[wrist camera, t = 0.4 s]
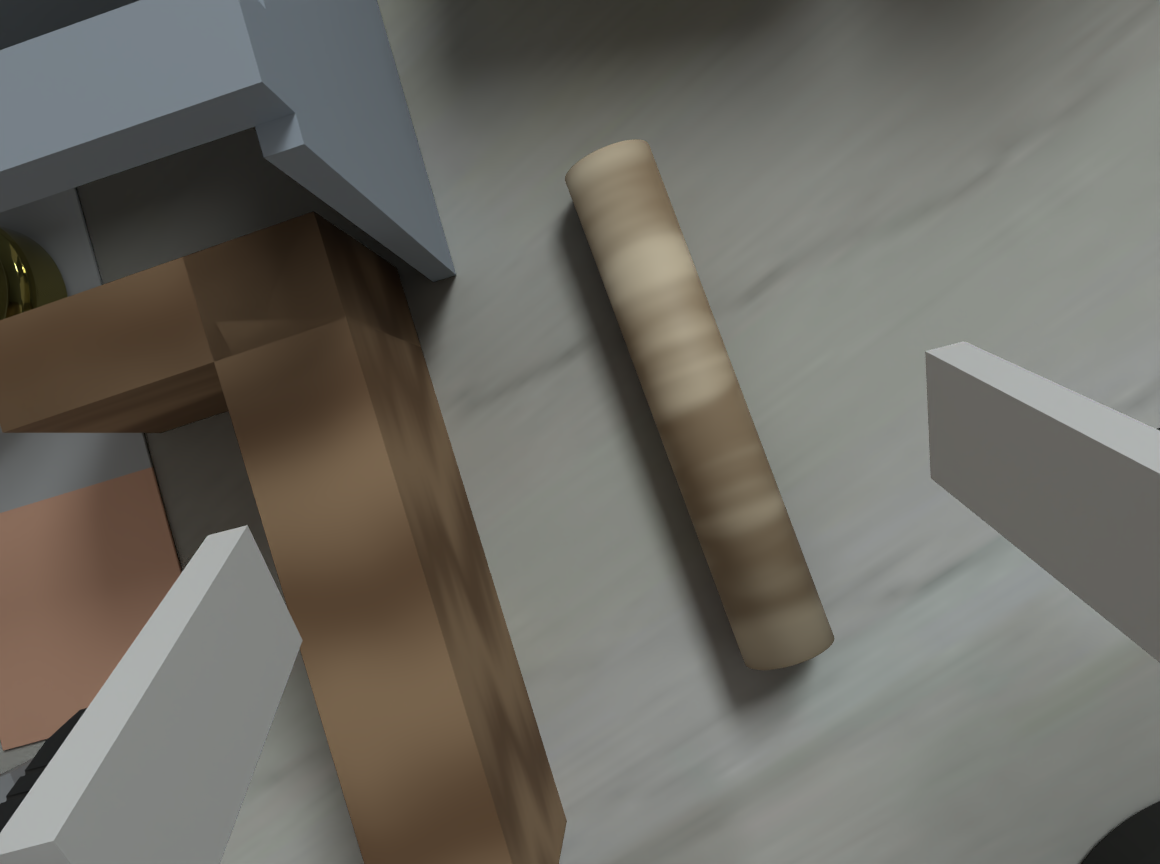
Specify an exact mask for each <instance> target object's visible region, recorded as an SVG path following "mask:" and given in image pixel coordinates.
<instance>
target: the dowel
mask: <svg viewBox="0 0 1160 864" xmlns="http://www.w3.org/2000/svg"><path fill="white" fill-rule="evenodd" d="M565 181H566V184H567V187H568V189H569V192H570V195H571V197H572V200H573V203H574V205H575V208H576V211H577V214H578V216H579V219H580V222H581V224H582V227H583V230H584V232H585V235H586V238H587V240H588V243H589V246H590V249H591V251H592V254H593V257H594V259H595V262H596V265H597V267H598V270H599V273H600V275H601V278H602V281H603V283H604V286H605V289H606V292H607V294H608V297H609V300H610V302H611V305H612V308H613V310H614V313H615V316H616V318H617V321H618V324H619V327H620V329H621V332H622V335H623V337H624V340H625V343H626V345H627V348H628V351H629V353H630V356H631V359H632V361H633V364H634V367H635V370H636V372H637V375H638V378H639V380H640V383H641V386H642V388H643V391H644V394H645V396H646V399H647V402H648V404H649V407H650V410H651V413H652V415H653V418H654V421H655V423H656V426H657V429H658V431H659V434H660V437H661V439H662V442H663V445H664V448H665V450H666V453H667V456H668V458H669V461H670V464H671V466H672V469H673V472H674V474H675V477H676V480H677V482H678V485H679V488H680V491H681V493H682V496H683V499H684V501H685V504H686V507H687V509H688V512H689V515H690V517H691V520H692V523H693V525H694V528H695V531H696V534H697V536H698V539H699V542H700V544H701V547H702V550H703V552H704V555H705V558H706V560H707V563H708V566H709V569H710V571H711V574H712V577H713V579H714V582H715V585H716V587H717V590H718V593H719V595H720V598H721V601H722V603H723V606H724V609H725V612H726V614H727V617H728V620H729V622H730V625H731V628H732V630H733V633H734V636H735V638H736V641H737V644H738V646H739V649H740V652H741V655H742V657H743V660H744V663H745V665H746V666H747V667H749V668H751V669H755V670H773V669H779V668H784V667H789V666H792V665H796V664H799V663H802V662H804V661H807V660H809V659H811V658H813V657H815V656H817V655H819V654H821V653H822V652H824V651H825V650H826V649H828V648H829V647H830V646H831V645H832V643H833V641H834V635H833V633H832V630H831V627H830V625H829V622H828V619H827V617H826V614H825V611H824V609H823V606H822V604H821V601H820V598H819V596H818V593H817V590H816V588H815V585H814V582H813V580H812V577H811V574H810V572H809V569H808V566H807V564H806V561H805V558H804V556H803V553H802V550H801V548H800V545H799V542H798V540H797V537H796V534H795V532H794V529H793V526H792V524H791V521H790V518H789V516H788V513H787V510H786V508H785V505H784V502H783V500H782V497H781V495H780V492H779V489H778V487H777V484H776V481H775V479H774V476H773V473H772V471H771V468H770V465H769V463H768V460H767V457H766V455H765V452H764V449H763V447H762V444H761V441H760V439H759V436H758V433H757V431H756V428H755V425H754V423H753V420H752V417H751V415H750V412H749V409H748V407H747V404H746V401H745V399H744V396H743V393H742V391H741V388H740V386H739V383H738V380H737V378H736V375H735V372H734V370H733V367H732V364H731V362H730V359H729V356H728V354H727V351H726V348H725V346H724V343H723V340H722V338H721V335H720V332H719V330H718V327H717V324H716V322H715V319H714V316H713V314H712V311H711V308H710V306H709V303H708V300H707V298H706V295H705V292H704V290H703V287H702V284H701V282H700V279H699V277H698V274H697V271H696V269H695V266H694V263H693V261H692V258H691V255H690V253H689V250H688V247H687V245H686V242H685V239H684V237H683V234H682V231H681V229H680V226H679V223H678V221H677V218H676V215H675V213H674V210H673V207H672V205H671V202H670V199H669V197H668V194H667V191H666V189H665V186H664V183H663V181H662V178H661V175H660V173H659V170H658V168H657V165H656V162H655V160H654V157H653V154H652V152H651V149H650V146H649V144H648V143H647V142H646V141H643V140H626V141H621V142H617V143H614V144H611V145H608V146H606V147H603V148H601V149H599V150H596V151H594V152H593V153H591V154H589V155H587V156H586V157H584V158H583V159H581V160H580V161H578V162H577V163H576V164H575V165H573V166H572V167H571V169H570V170H569V171H568V172H567V174H566V176H565Z"/></svg>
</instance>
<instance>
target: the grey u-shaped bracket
mask: <svg viewBox="0 0 1160 864" xmlns="http://www.w3.org/2000/svg"><path fill="white" fill-rule="evenodd" d="M252 127H255V128H256V132H257V135H258V139H259V143H260V146H261V150H262V153H263V157H264V158H265V159H266V160H268V161H269V162H270V163H272V164H273V165H275V166H276V167H277V168H279V169H280V170H281V171H283V172H284V173H285V174H287V175H288V176H290V177H291V178H292V179H294V180H295V181H296V182H298V183H299V184H300V185H302V186H303V187H305V188H306V189H307V190H309V191H310V192H311V193H313V194H314V195H315V196H317V197H318V198H320V199H321V200H322V201H324V202H325V203H326V204H328V205H329V206H330V207H332V208H333V209H335V210H336V211H337V212H339V213H340V214H341V215H343V216H344V217H345V218H347V219H348V220H350V221H351V222H352V223H354V224H355V225H356V226H358V227H359V228H360V229H362V230H363V231H365V232H366V233H367V234H369V235H370V236H371V237H373V238H374V239H375V240H377V241H378V242H380V243H381V244H382V245H384V246H385V247H386V248H388V249H389V250H390V251H392V252H393V253H395V254H396V255H397V256H399V257H400V258H401V259H403V260H404V261H405V262H407V263H408V264H410V265H411V266H412V267H414V268H415V269H416V270H418V271H419V272H420V273H422V274H423V275H425V276H426V277H427V278H429V279H430V280H431V281H433V282H435V281H438V280H442V279H445V278H448V277H451V276H454V275H456V273H455V269H454V266H453V262H452V259H451V256H450V252H449V249H448V245H447V242H446V238H445V235H444V231H443V228H442V224H441V221H440V217H439V214H438V210H437V207H436V204H435V200H434V197H433V193H432V190H431V186H430V183H429V179H428V176H427V172H426V169H425V165H424V162H423V158H422V155H421V152H420V148H419V145H418V141H417V138H416V134H415V131H414V127H413V124H412V120H411V117H410V113H409V110H408V107H407V103H406V100H405V96H404V93H403V89H402V86H401V82H400V79H399V75H398V72H397V68H396V65H395V61H394V58H393V55H392V51H391V48H390V44H389V41H388V37H387V34H386V30H385V27H384V23H383V20H382V16H381V13H380V9H379V6H378V3H377V0H0V213H1V212H4V211H7V210H10V209H13V208H16V207H19V206H22V205H24V204H27V203H30V202H33V201H36V200H39V199H42V198H45V197H48V196H51V195H54V194H57V193H60V192H63V191H66V190H69V189H72V188H75V187H78V186H81V185H84V184H87V183H89V182H92V181H95V180H98V179H101V178H104V177H107V176H110V175H113V174H116V173H119V172H122V171H125V170H128V169H131V168H134V167H137V166H140V165H143V164H146V163H149V162H152V161H155V160H157V159H160V158H163V157H166V156H169V155H172V154H175V153H178V152H181V151H184V150H187V149H190V148H193V147H196V146H199V145H202V144H205V143H208V142H211V141H214V140H217V139H220V138H222V137H225V136H228V135H231V134H234V133H237V132H240V131H243V130H246V129H249V128H252Z"/></svg>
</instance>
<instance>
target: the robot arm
mask: <svg viewBox="0 0 1160 864" xmlns="http://www.w3.org/2000/svg"><path fill="white" fill-rule="evenodd" d="M925 354H926V377H927V401H928V424H929V447H930V471H931V479H933V480H934V481H935V482H936V483H938V484H939V485H940V486H941V487H943V488H944V489H945V490H946V491H948V492H949V493H950V494H951V495H953V496H954V497H955V498H956V499H958V500H959V501H960V502H961V503H962V504H964V505H965V506H966V507H967V508H969V509H970V510H971V511H972V512H974V513H975V514H976V515H977V516H979V517H980V518H981V519H982V520H984V521H985V522H986V523H987V524H989V525H990V526H991V527H992V528H994V529H995V530H996V531H997V532H998V533H1000V534H1001V535H1002V536H1003V537H1005V538H1006V539H1007V540H1008V541H1010V542H1011V543H1012V544H1013V545H1015V546H1016V547H1017V548H1018V549H1020V550H1021V551H1022V552H1023V553H1025V554H1026V555H1027V556H1028V557H1029V558H1031V559H1032V560H1033V561H1034V562H1036V563H1037V564H1038V565H1039V566H1041V567H1042V568H1043V569H1044V570H1046V571H1047V572H1048V573H1049V574H1051V575H1052V576H1053V577H1054V578H1056V579H1057V580H1058V581H1059V582H1061V583H1062V584H1063V585H1064V586H1065V587H1067V588H1068V589H1069V590H1070V591H1072V592H1073V593H1074V594H1075V595H1077V596H1078V597H1079V598H1080V599H1082V600H1083V601H1084V602H1085V603H1087V604H1088V605H1089V606H1090V607H1092V608H1093V609H1094V610H1095V611H1096V612H1098V613H1099V614H1100V615H1101V616H1103V617H1104V618H1105V619H1106V620H1108V621H1109V622H1110V623H1111V624H1113V625H1114V626H1115V627H1116V628H1118V629H1119V630H1120V631H1121V632H1123V633H1124V634H1125V635H1126V636H1128V637H1129V638H1130V639H1131V640H1132V641H1134V642H1135V643H1136V644H1137V645H1139V646H1140V647H1141V648H1142V649H1144V650H1145V651H1146V652H1147V653H1149V654H1150V655H1151V656H1152V657H1154V658H1155V659H1156V660H1157V661H1159V662H1160V428H1158V429H1155V428H1153V427H1151V426H1149V425H1146V424H1144V423H1142V422H1140V421H1138V420H1136V419H1133V418H1131V417H1129V416H1127V415H1125V414H1122V413H1120V412H1118V411H1116V410H1114V409H1112V408H1109V407H1107V406H1105V405H1103V404H1101V403H1098V402H1096V401H1094V400H1092V399H1090V398H1087V397H1085V396H1083V395H1081V394H1079V393H1077V392H1074V391H1072V390H1070V389H1068V388H1066V387H1063V386H1061V385H1059V384H1057V383H1055V382H1053V381H1050V380H1048V379H1046V378H1044V377H1042V376H1039V375H1037V374H1035V373H1033V372H1031V371H1029V370H1026V369H1024V368H1022V367H1020V366H1018V365H1015V364H1013V363H1011V362H1009V361H1007V360H1005V359H1002V358H1000V357H998V356H996V355H994V354H991V353H989V352H987V351H985V350H983V349H980V348H978V347H976V346H974V345H972V344H970V343H967V342H965V341H963V342H959V343H956V344H952V345H948V346H944V347H940V348H936V349H932V350H928V351H925ZM302 641H303V640H302V638H301V636H300V634H299V632H298V630H297V628H296V625H295V623H294V621H293V619H292V617H291V615H290V613H289V611H288V609H287V607H286V605H285V602H284V600H283V598H282V596H281V594H280V592H279V590H278V588H277V586H276V584H275V581H274V579H273V577H272V575H271V573H270V571H269V569H268V567H267V565H266V563H265V561H264V558H263V556H262V554H261V552H260V550H259V548H258V546H257V544H256V542H255V540H254V537H253V535H252V533H251V531H250V529H249V527H248V525H246V526H242V527H238V528H235V529H231V530H227V531H223V532H219V533H215V534H211V535H208V536H207V537H206V538H205V540H204V541H203V543H202V544H201V546H200V547H199V549H198V550H197V551H196V553H195V554H194V556H193V557H192V559H191V560H190V561H189V563H188V564H187V566H186V567H185V569H184V570H183V571H182V573H181V574H180V576H179V577H178V579H177V580H176V582H175V583H174V584H173V586H172V587H171V589H170V590H169V592H168V593H167V594H166V596H165V597H164V599H163V600H162V602H161V603H160V604H159V606H158V607H157V609H156V610H155V612H154V613H153V615H152V616H151V617H150V619H149V620H148V622H147V623H146V625H145V626H144V627H143V629H142V630H141V632H140V633H139V635H138V636H137V637H136V639H135V640H134V642H133V643H132V645H131V646H130V647H129V649H128V650H127V652H126V653H125V655H124V656H123V658H122V659H121V660H120V662H119V663H118V665H117V666H116V668H115V669H114V670H113V672H112V673H111V675H110V676H109V678H108V679H107V680H106V682H105V683H104V685H103V686H102V688H101V689H100V691H99V692H98V693H97V695H96V696H95V698H94V699H93V701H92V702H91V703H90V705H89V706H88V708H85V709H81V710H79V711H78V712H77V713H76V714H75V715H73V716H72V717H71V718H70V719H69V720H68V721H67V722H66V723H65V724H64V725H63V726H61V727H60V728H59V729H58V730H57V731H56V732H55V733H54V734H53V735H52V736H51V737H49V738H48V739H47V740H46V742H45V743H44V745H43V746H42V747H41V749H40V750H39V751H38V753H37V754H36V756H35V757H34V758H33V760H32V761H31V762H30V764H29V765H28V767H27V768H26V769H25V776H21V777H20V778H19V779H18V780H17V782H16V783H15V784H14V786H13V787H12V789H11V790H10V791H9V793H8V794H7V795H6V798H7V800H6V802H3V803H1V804H0V864H220V862H221V859H222V856H223V854H224V851H225V848H226V846H227V843H228V840H229V838H230V835H231V832H232V829H233V827H234V824H235V821H236V819H237V816H238V813H239V811H240V808H241V805H242V803H243V800H244V797H245V794H246V792H247V789H248V786H249V784H250V781H251V778H252V776H253V773H254V770H255V767H256V765H257V762H258V759H259V757H260V754H261V751H262V749H263V746H264V743H265V740H266V738H267V735H268V732H269V730H270V727H271V724H272V722H273V719H274V716H275V713H276V711H277V708H278V705H279V703H280V700H281V697H282V695H283V692H284V689H285V686H286V684H287V681H288V678H289V676H290V673H291V670H292V668H293V665H294V662H295V660H296V657H297V654H298V651H299V649H300V646H301V643H302ZM1082 864H1160V802H1157V803H1155V804H1153V805H1151V806H1149V807H1147V808H1146V809H1144V810H1142V811H1140V812H1138V813H1137V814H1135V815H1134V816H1132V817H1131V818H1129V819H1127V820H1126V821H1125V822H1123V823H1122V824H1121V825H1119V826H1118V827H1117V828H1115V829H1114V830H1113V831H1112V832H1111V833H1110V834H1109V835H1107V836H1106V837H1105V838H1104V839H1103V840H1102V841H1101V842H1100V843H1099V844H1098V845H1097V846H1096V847H1095V848H1094V850H1093V851H1092V852H1091V853H1090V854H1089V856H1088V857H1087V858H1086V859H1085V861H1084V862H1083V863H1082Z"/></svg>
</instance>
